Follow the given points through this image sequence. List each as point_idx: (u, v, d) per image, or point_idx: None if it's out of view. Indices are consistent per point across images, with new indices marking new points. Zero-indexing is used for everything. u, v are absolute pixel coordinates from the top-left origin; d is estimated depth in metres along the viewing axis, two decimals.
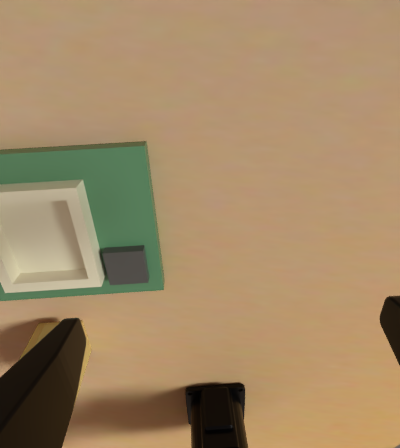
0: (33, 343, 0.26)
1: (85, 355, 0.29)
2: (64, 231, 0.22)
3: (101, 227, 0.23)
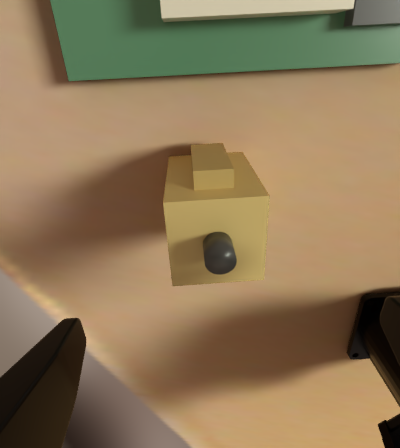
0: (177, 169, 0.15)
1: None
2: None
3: None
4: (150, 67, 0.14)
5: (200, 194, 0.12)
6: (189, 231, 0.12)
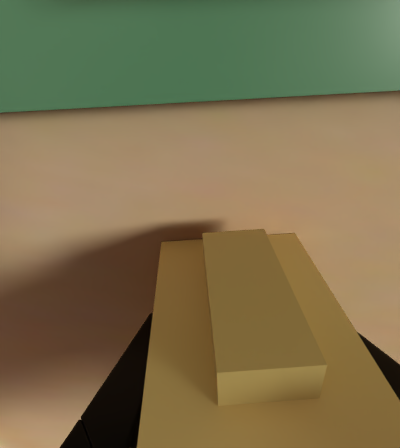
0: (177, 293, 0.07)
1: None
2: None
3: None
4: (115, 86, 0.06)
5: (238, 435, 0.04)
6: None
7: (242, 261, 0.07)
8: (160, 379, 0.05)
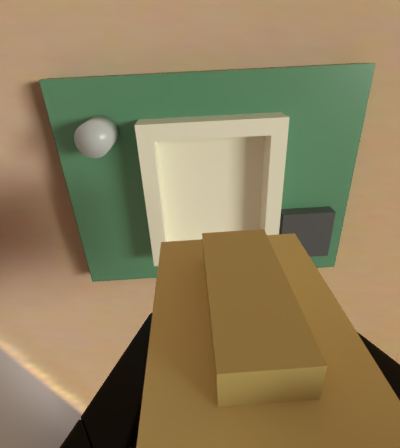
0: (176, 294, 0.07)
1: None
2: (238, 185, 0.17)
3: (284, 181, 0.17)
4: (147, 273, 0.20)
5: (237, 437, 0.04)
6: None
7: (242, 261, 0.07)
8: (160, 380, 0.05)
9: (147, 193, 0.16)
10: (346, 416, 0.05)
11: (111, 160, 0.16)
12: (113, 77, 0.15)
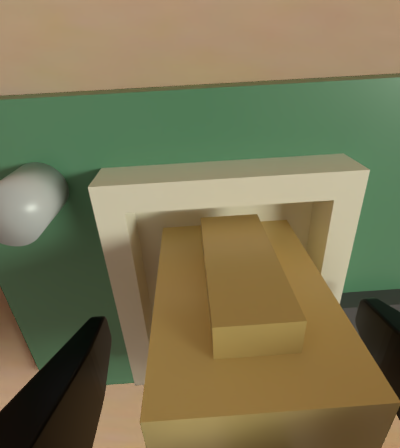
0: (177, 271, 0.08)
1: None
2: None
3: None
4: (128, 378, 0.14)
5: (230, 381, 0.05)
6: None
7: (236, 241, 0.08)
8: (163, 339, 0.06)
9: (119, 291, 0.09)
10: (323, 365, 0.05)
11: (60, 231, 0.10)
12: (51, 99, 0.08)
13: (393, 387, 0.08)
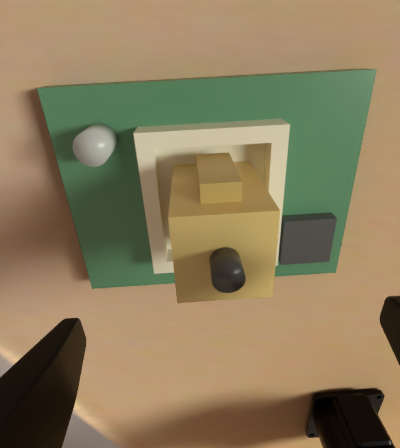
0: (182, 180, 0.14)
1: None
2: None
3: (284, 187, 0.17)
4: (147, 280, 0.20)
5: (207, 208, 0.11)
6: (195, 247, 0.12)
7: (215, 161, 0.14)
8: (176, 199, 0.12)
9: (147, 201, 0.16)
10: (251, 203, 0.12)
11: (110, 168, 0.16)
12: (112, 85, 0.14)
13: None
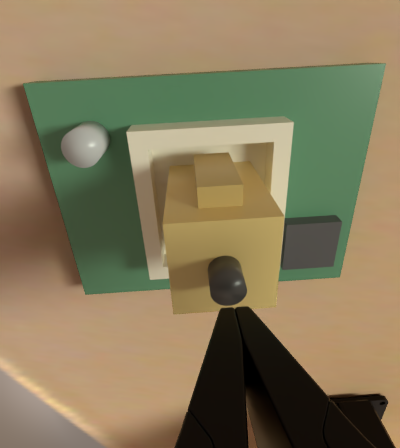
0: (179, 182, 0.13)
1: None
2: None
3: (287, 189, 0.16)
4: (143, 286, 0.19)
5: (205, 213, 0.11)
6: (192, 255, 0.11)
7: (213, 162, 0.13)
8: (172, 203, 0.11)
9: (142, 204, 0.15)
10: (252, 208, 0.11)
11: (103, 169, 0.15)
12: (103, 80, 0.14)
13: (248, 398, 0.08)
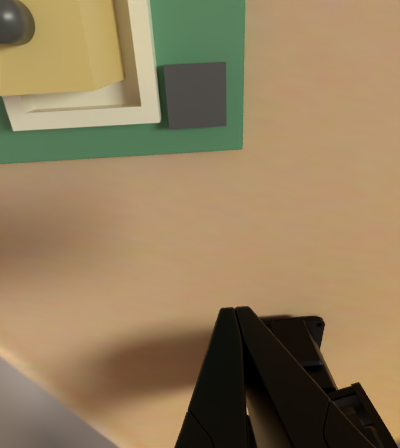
0: None
1: (116, 57, 0.14)
2: None
3: (162, 23, 0.15)
4: (22, 156, 0.17)
5: None
6: None
7: None
8: None
9: None
10: None
11: None
12: None
13: (248, 398, 0.08)
